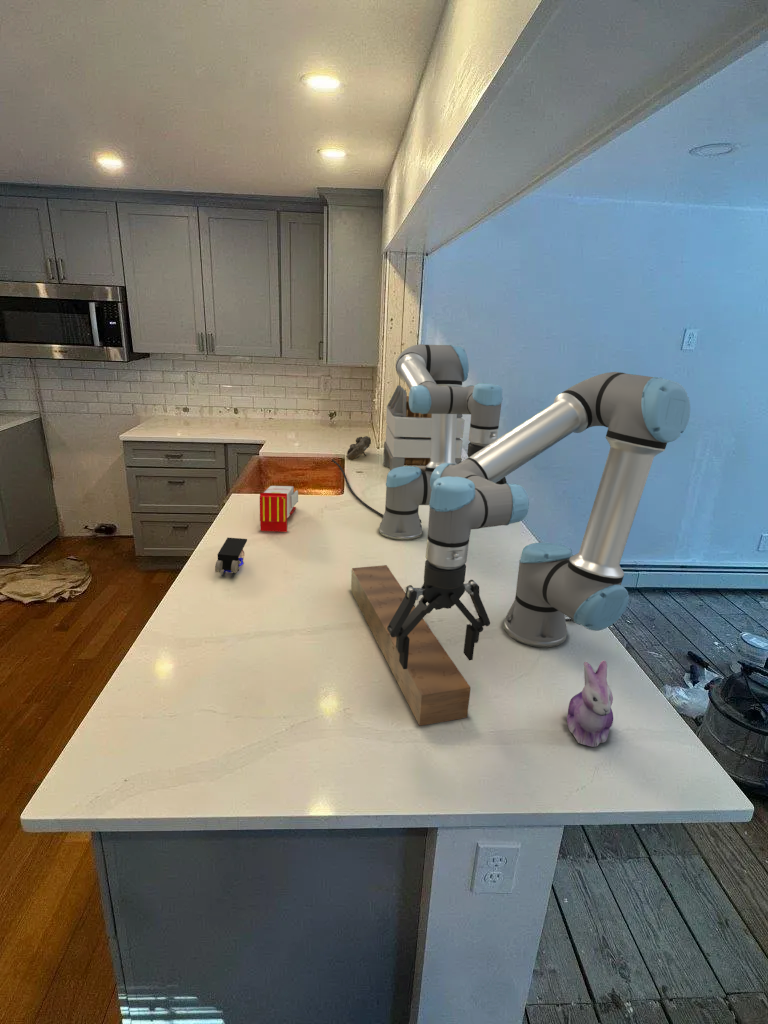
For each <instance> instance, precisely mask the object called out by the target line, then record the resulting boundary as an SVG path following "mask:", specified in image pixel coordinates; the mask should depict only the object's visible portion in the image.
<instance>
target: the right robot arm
mask: <svg viewBox="0 0 768 1024" xmlns="http://www.w3.org/2000/svg"><path fill="white" fill-rule="evenodd" d="M690 416H691V401H690V397H689V396H688V392H687V390H686V388H685V387H684V386H683V385H682V384H680V383H679V382H678V381H674V380H671V379H667V378H663V377H657V376H648V375H641V374H631V373H625V372H621V371H620V372H619V371H610V372H604V373H600V374H597V375H594V376H591V377H589V378H587V379H584V380H581V381H580V382H578V383H576V384H574V385H571V386H570V387H568V388H567V389H565V390H564V391H562V392H560V393H559V394H557V395H556V396H555V398H554V400H553V403H552V404H550V405H549V406H547V407H545V408H544V409H542V410H541V411H539V412H538V413H536V414H534V415H533V416H531V417H529V418H528V419H526V420H525V421H523V422H522V423H520V424H519V425H517V426H516V427H514V428H513V429H511V430H510V431H508V432H506V433H505V434H503V435H501V436H500V437H497V440H495V441H494V442H492V443H491V444H489V445H487V446H486V447H484V448H483V449H481V450H480V451H478V452H476V453H475V454H473V455H472V456H470V457H469V458H468V457H467V458H465V459H464V460H462V462H460V463H459V464H457V465H455V464H453V463H452V464H451V463H444V464H440V465H439V466H437V467H436V468H435V469H434V471H433V472H432V475H431V478H430V486H431V489H432V491H431V498H430V502H429V505H428V506H429V511H428V512H429V513H428V525H427V537H426V548H425V559H426V560H425V561H424V571H423V572H424V573H423V584H422V586H421V587H414V586H413V585H412V584H409V585H407V587H406V589H405V593H406V594H405V597H404V599H403V601H402V602H401V604H400V606H399V608H398V609H397V611H396V613H395V614H394V616H393V618H392V620H391V621H390V623H389V625H388V627H387V630H388V631H389V633H390V635H391V637H396V649H397V650H398V652H399V653H400V656H399V662H400V664H401V666H402V667H403V669H407V666H408V653H409V640H410V639H409V637H408V636H407V635H408V634H409V633H410V632H411V631H412V630H413V629H414V628H415V626H416V625H417V624H418V623H419V622H420V621H421V620H422V619H424V618H425V617H426V616H427V615H428V614H429V615H430V614H431V612H432V611H434V610H435V611H438V610H442V609H452V608H453V607H454V606H456V607H457V608H458V610H459V611H460V612H461V614H463V615H464V617H465V618H466V619H467V620H468V622H469V624H466V627H465V634H464V635H465V636H464V645H463V654H464V656H465V657H466V658H467V660H468V661H473V659H474V651H475V646H476V645H475V644H478V643H479V640H480V633H482V632H483V631H484V627H489V626H490V625H491V621H490V618H489V616H488V613H487V611H486V609H485V605H484V604H483V603H484V602H483V601H482V598H481V596H480V585H479V584H478V583H477V582H476V581H475V580H474V579H469V580H468V582H466V572H467V561H468V552H469V544H470V538H471V537H470V536H471V531H472V530H479V529H485V528H493V527H501V526H509V525H511V524H516V523H520V522H522V521H523V520H524V519H526V517H527V515H528V513H529V507H530V500H529V499H530V498H529V495H528V493H527V491H526V489H525V488H524V487H523V486H521V485H520V484H518V483H509V482H507V483H505V484H502V485H501V484H496V482H498V481H499V480H501V479H502V478H504V477H505V478H506V477H507V476H508V475H510V474H512V473H513V472H515V471H517V469H519V468H521V467H522V466H524V465H526V464H527V463H528V462H530V461H532V460H533V459H534V458H536V457H538V456H539V455H540V454H543V453H544V452H546V451H547V450H548V449H550V448H552V447H553V446H554V445H556V444H557V443H559V442H561V441H562V440H563V439H565V438H567V437H568V436H569V435H571V434H581V433H583V432H584V431H586V430H587V429H589V428H592V427H605V428H607V431H606V434H605V439H606V441H607V443H608V445H609V447H610V448H609V451H608V454H607V456H606V457H607V458H606V461H605V464H604V467H603V470H602V474H601V478H600V481H599V484H598V488H597V491H596V494H595V497H594V501H593V503H592V508H591V510H590V514H589V518H588V521H587V524H586V527H585V531H584V534H583V537H582V541H581V545H580V548H579V551H578V553H576V554H574V553H573V550H572V548H570V546H568V545H565V544H561V543H556V542H545V541H544V542H534V543H530V544H527V545H525V546H524V547H523V548H522V550H521V554H520V558H519V564H518V573H517V578H516V579H517V580H516V587H515V588H516V589H515V597H514V600H513V602H512V603H511V606H510V608H509V609H508V611H507V613H506V615H505V618H504V620H503V621H504V623H503V629H504V631H505V632H506V634H507V635H508V636H509V637H510V638H511V639H513V640H515V641H517V643H518V642H519V643H520V644H523V645H526V646H529V647H535V648H553V647H558V646H560V645H562V644H563V643H564V642H565V641H566V639H567V635H568V626H567V623H572V622H573V623H575V624H577V625H579V626H582V627H584V629H585V628H586V629H588V630H590V631H594V632H596V631H598V632H599V631H603V630H605V629H608V628H609V627H611V626H612V625H613V624H615V623H616V622H617V621H618V620H619V619H620V618H621V617H622V615H623V614H624V612H625V611H626V609H627V608H628V604H629V602H630V595H629V591H628V590H627V589H626V588H625V586H624V585H622V583H623V580H624V577H625V572H624V570H623V569H622V567H621V561H622V557H623V556H624V552H625V548H626V546H627V543H628V539H629V536H630V533H631V530H632V527H633V524H634V520H635V517H636V514H637V511H638V508H639V505H640V502H641V500H642V495H643V493H644V490H645V486H646V483H647V480H648V477H649V474H650V470H651V467H652V464H653V461H654V459H655V457H656V456H658V455H660V454H661V453H663V452H665V451H666V448H667V446H668V443H671V442H675V441H676V440H678V439H679V438H680V437H681V434H683V433H685V431H686V428H687V426H688V423H689V420H690ZM465 582H466V583H465ZM465 593H467V595H469V597H470V599H471V602H472V604H473V607H474V609H475V611H476V614H477V616H478V617H477V618H476V617H475V616H474V615H473V614H472V612H471V611H470V610H469V609H468V608H467V607H466V606H465V604H464V603H463V602H462V601H461V597H462V596H463V595H464V594H465ZM421 596H422V597H421ZM420 597H421V598H420ZM419 598H420V599H419ZM418 600H419V601H418ZM417 601H418V604H417V605H416V606H415V604H416V602H417ZM413 606H415V608H414V609H413V611H412V612H411V610H412V608H413ZM410 612H411V613H410ZM409 613H410V614H409ZM566 617H567V618H566Z"/></svg>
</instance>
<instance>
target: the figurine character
mask: <svg viewBox="0 0 768 1024" xmlns="http://www.w3.org/2000/svg"><path fill="white" fill-rule="evenodd" d="M247 542H248V538H240V537H226V539H225V541H224V543H223V544H222V546H221V547H220V549H219V551H218V552H217V560H216V562H215V564H214V572H215V573H221V577H222V578H224V577H225V576H226V574H227V573H230V574H231V573H232V574H231V578H234V577H235V575H236V573H237V572H239V571H240V567H242V566H243V565H244V564H245V562H244V558H245V551H244V547H245V546H246V544H247Z"/></svg>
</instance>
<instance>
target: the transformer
mask: <svg viewBox="0 0 768 1024" xmlns="http://www.w3.org/2000/svg"><path fill="white" fill-rule="evenodd" d="M407 394H408V393H407V390H406V389H404V388H403V387H402V385H399V384H398V385H397V386H396V388H395V390H394V392H393V394H392V395H391V398H390V400H389V402H388V404H387V405H386V413H385V414H386V415H385V423H386V428H385V438H384V442H383V466H384V467H388V468H389V471H391V470H392V469H394V468H397V467H402V466H412V467H413V466H415V467H426V465H427V464H428V463H429V462H430V455H431V419H432V414H421V413H413V412H411V410H410V407H409V395H407ZM464 429H465V419H464V418H463V414H457V420H456V450H455V462H456V464H458V463H459V462H462V461H463V460H462V453H463V442H464V441H463V440H462V439H463V438H464V431H465V430H464Z"/></svg>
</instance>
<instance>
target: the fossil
mask: <svg viewBox="0 0 768 1024" xmlns="http://www.w3.org/2000/svg"><path fill="white" fill-rule="evenodd" d="M371 445H372V439H371V437H370V436H368V435H365V436H358V437H356V439H355V443H351V444H350V445H349V448H348V449H347V451H346V452H347V453H346V458H347V460H350V461H352V460H354V459H356V458H358V457H359V456H361V455H362V454H363V455H364V457H366V456H367V455H366V453H365V451H366V450H367V449H368V448H370V446H371Z"/></svg>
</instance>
